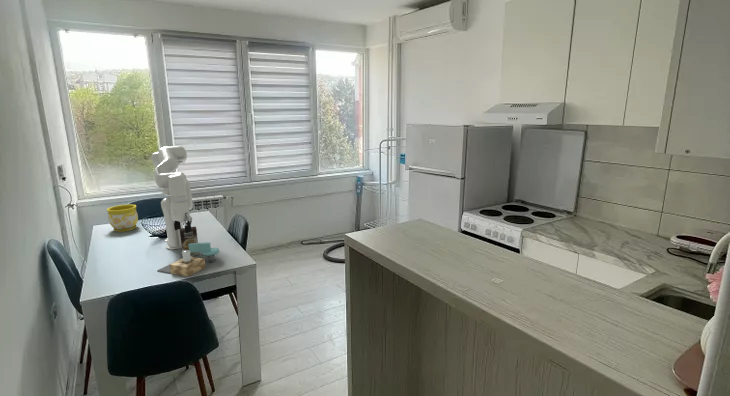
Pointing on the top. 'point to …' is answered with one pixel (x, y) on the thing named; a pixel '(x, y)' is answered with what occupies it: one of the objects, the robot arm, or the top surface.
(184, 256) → the hook peg
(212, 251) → the teal toy sofa
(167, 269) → the place mat
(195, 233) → the coffee box
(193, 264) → the block
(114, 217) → the flowerpot
